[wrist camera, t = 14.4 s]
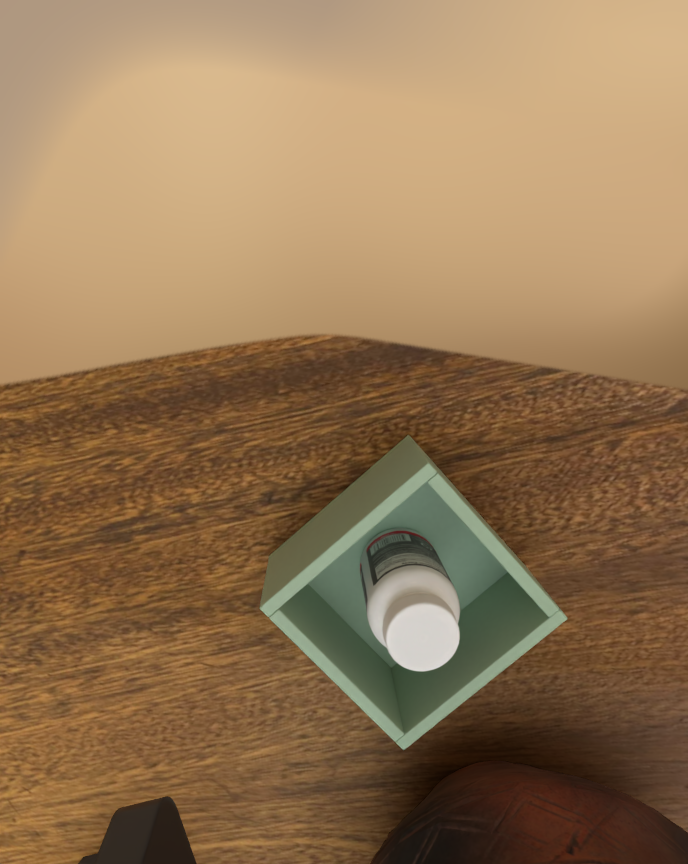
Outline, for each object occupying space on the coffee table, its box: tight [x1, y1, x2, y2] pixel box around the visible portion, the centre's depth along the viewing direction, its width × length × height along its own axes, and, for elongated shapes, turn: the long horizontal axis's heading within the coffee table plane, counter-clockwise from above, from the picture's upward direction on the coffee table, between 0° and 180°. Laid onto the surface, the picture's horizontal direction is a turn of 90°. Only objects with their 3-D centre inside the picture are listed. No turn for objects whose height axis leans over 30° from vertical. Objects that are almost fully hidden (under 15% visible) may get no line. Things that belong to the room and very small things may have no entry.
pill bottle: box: [360, 528, 460, 671], centre depth 37 cm, size 5×5×10 cm
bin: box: [259, 435, 567, 750], centre depth 39 cm, size 13×13×8 cm
